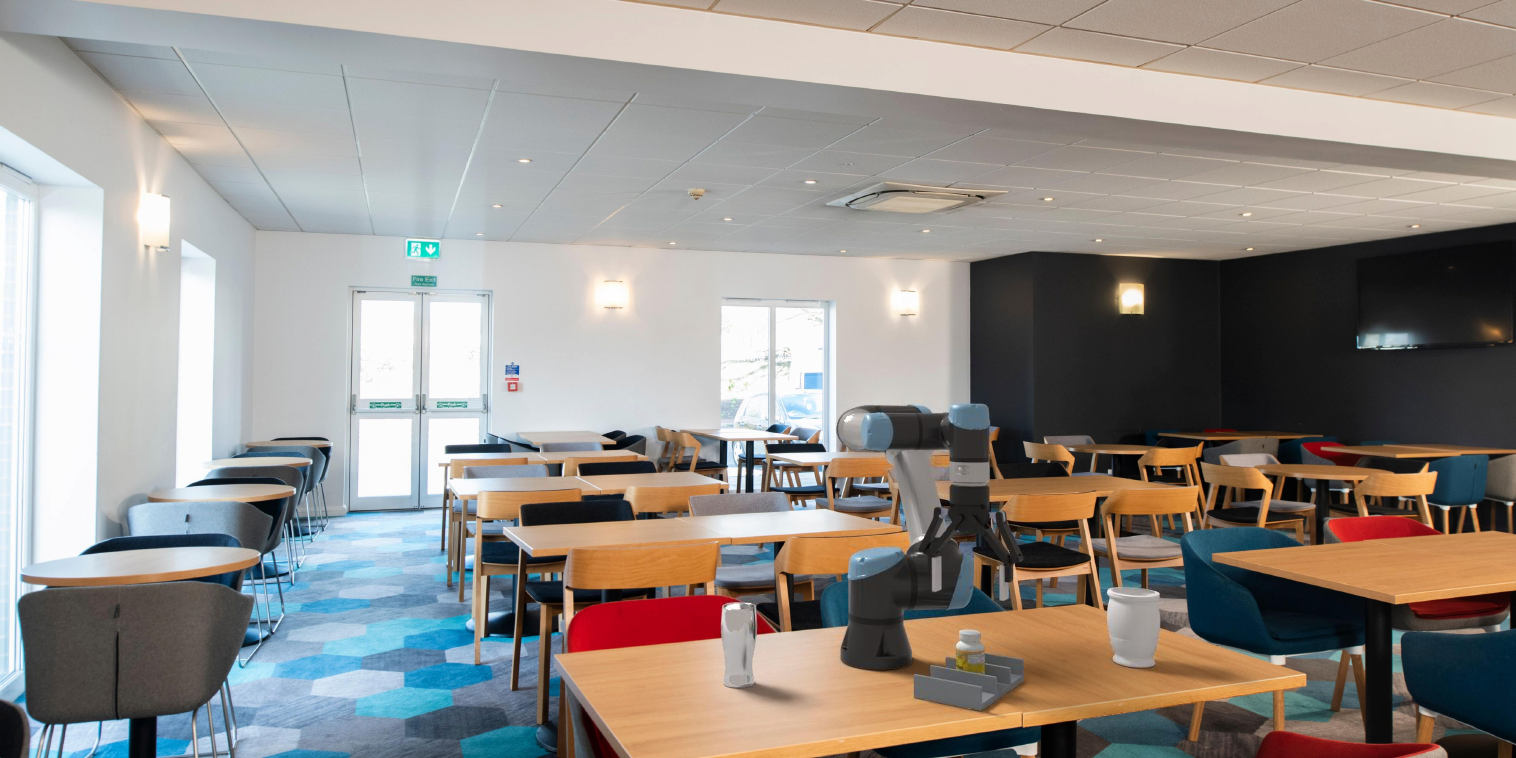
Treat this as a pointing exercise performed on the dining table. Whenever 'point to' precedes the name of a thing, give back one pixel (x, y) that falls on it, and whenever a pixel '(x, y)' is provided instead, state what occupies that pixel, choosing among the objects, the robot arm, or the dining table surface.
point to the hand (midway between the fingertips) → (969, 594)
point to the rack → (970, 682)
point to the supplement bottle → (970, 652)
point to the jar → (1133, 625)
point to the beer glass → (738, 643)
